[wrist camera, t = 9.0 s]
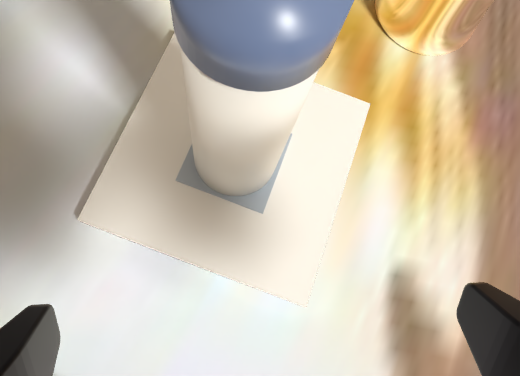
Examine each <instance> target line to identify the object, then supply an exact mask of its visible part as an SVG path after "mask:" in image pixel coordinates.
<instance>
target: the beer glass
mask: <svg viewBox="0 0 520 376" xmlns="http://www.w3.org/2000/svg"><path fill="white" fill-rule="evenodd" d="M494 1H495V0H375V10H376V15H377V18H378V20H379V23H380V25H381V26H382V28H383V29H384V31H385V32H386V33H387V34H388V36H389V37H390V38H391V39H393V40H394V41H395V42H396V43H397V44H399V45H400V46H402V47H404V48H405V49H407V50H410V51H412V52H415V53H418V54H422V55H428V56H439V55H445V54H449V53H451V52H454V51H455V50H457V49H459V48H460V47H462V46H463V45H464V44H465V43H466V42H467V41H468V40H469V38H470V37H471V35H472V34H473V32H474V31H475V29H476V28H477V26H478V24H479V23H480V21H481V19H482V18H483V16H484V14H485V13H486V11H487V10H488V8H489V7H490V5H491V4H492V3H493V2H494Z"/></svg>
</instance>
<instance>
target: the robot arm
mask: <svg viewBox="0 0 520 376" xmlns="http://www.w3.org/2000/svg"><path fill="white" fill-rule="evenodd" d="M457 319H458V322H459V324H460V327H461V329H462V331H463V333H464V336H465V338H466V340H467V343H468V345H469V347H470V350H471V352H472V354H473V357H474V359H475V361H476V363H477V366H478V368H479V370H480V373H481V375H482V376H520V301H519V300H517V299H515V298H513V297H512V296H510V295H508V294H506V293H504V292H502V291H501V290H499V289H497V288H495V287H493V286H492V285H490V284H488V283H484V282H478V283H468V284H467V285H466V286H465V287H464V290H463V293H462V296H461V299H460V302H459V305H458V307H457ZM59 345H60V331H59V327H58V323H57V319H56V316H55V312H54V308H53V307H52V305H49V304H40V305H30V306H28V307H27V308H25V309H24V310H23V311H21V312H20V313H19V314H18V315H16V316H15V317H14V318H13V319H12V320H10V321H9V322H8V323H7V324H5V325H4V326H3V327H2V328H0V376H53V371H54V367H55V363H56V358H57V354H58V350H59Z"/></svg>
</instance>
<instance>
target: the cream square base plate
mask: <svg viewBox="0 0 520 376" xmlns="http://www.w3.org/2000/svg"><path fill="white" fill-rule="evenodd" d="M369 106H370V104H369V103H367V102H364V101H362V100H359V99H356V98H354V97H351V96H349V95H346V94H343V93H341V92H338V91H335V90H333V89H330V88H328V87H325V86H322V85H320V84H317V83H315V82H313V84H312V86H311V88H310V91H309V93H308V95H307V97H306V100H305V102H304V104H303V107H302V109H301V111H300V113H299V116H298V118H297V120H296V123H295V125H294V127H293V129H292V132H291V134H290V136H289V139H288V141H287V143H286V145H285V148H284V150H283V152H282V155H281V157H280V159H279V161H278V164H277V166H276V168H275V171H274V173H273V175H272V177H271V178H270V180H269V181H268V182H267V183H266V185H264V186H263V187H262V188H261V189H259V190H258V191H256V192H254V193H251V194H248V195H244V196H229V195H224V194H221V193H219V192H216V191H215V190H213V189H211V188H210V187H209V186H208V185H206V184H205V183H204V181H203V180H202V179H201V177H200V176H199V174H198V172H197V170H196V167H195V162H194V155H193V147H192V139H191V131H190V123H189V115H188V107H187V99H186V91H185V83H184V75H183V67H182V59H181V51H180V45H179V43H178V40H177V38H176V35H175V32H174V34H173V36H172V38H171V40H170V42H169V44H168V46H167V47H166V49H165V51H164V53H163V55H162V57H161V59H160V61H159V63H158V65H157V67H156V69H155V71H154V73H153V74H152V76H151V78H150V80H149V82H148V84H147V86H146V88H145V90H144V92H143V94H142V96H141V98H140V99H139V101H138V103H137V105H136V107H135V109H134V111H133V113H132V115H131V117H130V119H129V121H128V123H127V125H126V126H125V128H124V130H123V132H122V134H121V136H120V138H119V140H118V142H117V144H116V146H115V148H114V150H113V151H112V153H111V155H110V157H109V159H108V161H107V163H106V165H105V167H104V169H103V171H102V173H101V175H100V177H99V178H98V180H97V182H96V184H95V186H94V188H93V190H92V192H91V194H90V196H89V198H88V200H87V202H86V203H85V205H84V207H83V209H82V211H81V213H80V215H79V217H78V219H77V220H79V221H80V222H82V223H85V224H87V225H90V226H93V227H95V228H98V229H101V230H103V231H106V232H108V233H111V234H114V235H116V236H119V237H121V238H124V239H127V240H129V241H132V242H135V243H137V244H140V245H142V246H145V247H148V248H150V249H153V250H156V251H158V252H161V253H163V254H166V255H169V256H171V257H174V258H176V259H179V260H182V261H184V262H187V263H190V264H192V265H195V266H197V267H200V268H203V269H205V270H208V271H210V272H213V273H216V274H218V275H221V276H224V277H226V278H229V279H231V280H234V281H237V282H239V283H242V284H244V285H247V286H250V287H252V288H255V289H258V290H260V291H263V292H265V293H268V294H271V295H273V296H276V297H278V298H281V299H284V300H286V301H289V302H292V303H294V304H297V305H299V306H302V307H307V304H308V301H309V298H310V295H311V292H312V288H313V285H314V282H315V279H316V276H317V272H318V269H319V266H320V263H321V260H322V257H323V253H324V250H325V247H326V244H327V241H328V237H329V234H330V231H331V228H332V225H333V221H334V218H335V215H336V212H337V209H338V205H339V202H340V199H341V196H342V193H343V189H344V186H345V183H346V180H347V177H348V174H349V170H350V167H351V164H352V161H353V158H354V154H355V151H356V148H357V145H358V142H359V138H360V135H361V132H362V129H363V126H364V122H365V119H366V116H367V113H368V110H369Z"/></svg>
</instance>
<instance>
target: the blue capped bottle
mask: <svg viewBox="0 0 520 376" xmlns="http://www.w3.org/2000/svg"><path fill="white" fill-rule="evenodd" d="M353 2H354V0H170V6H171V13H172V20H173V26H174V31H175V35H176V38H177V40H178V43H179V45H180V51H181V59H182V67H183V75H184V83H185V91H186V99H187V107H188V115H189V123H190V131H191V139H192V147H193V155H194V162H195V167H196V170H197V172H198V174H199V176H200V177H201V179H202V180H203V181H204V183H205V184H206V185H208V186H209V187H210V188H211V189H213V190H215V191H216V192H219V193H221V194H224V195H229V196H244V195H248V194H251V193H254V192H256V191H258V190H259V189H261V188H262V187H263V186H264V185H266V183H267V182H268V181H269V180H270V178H271V177H272V175H273V173H274V171H275V168H276V166H277V164H278V161H279V159H280V157H281V155H282V152H283V150H284V148H285V145H286V143H287V141H288V139H289V136H290V134H291V132H292V129H293V127H294V125H295V123H296V120H297V118H298V116H299V113H300V111H301V109H302V107H303V104H304V102H305V100H306V97H307V95H308V93H309V91H310V88H311V86H312V84H313V81H314V79H315V77H316V75H317V72H318V70H319V68H320V67H321V66H322V65H323V64H324V62H325V61H326V59H327V58H328V56H329V54H330V52H331V50H332V48H333V46H334V43H335V41H336V39H337V37H338V35H339V32H340V30H341V28H342V26H343V24H344V21H345V19H346V17H347V15H348V13H349V10H350V8H351V6H352V4H353Z"/></svg>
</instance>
